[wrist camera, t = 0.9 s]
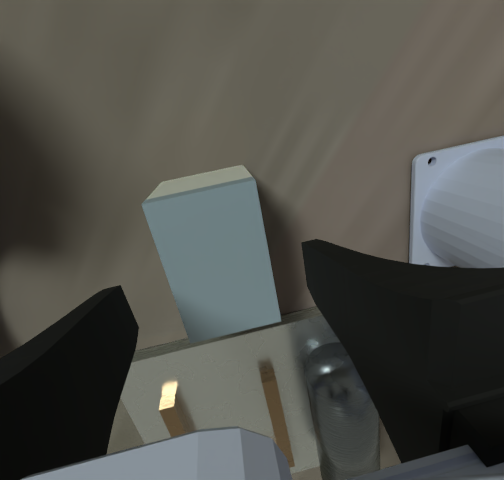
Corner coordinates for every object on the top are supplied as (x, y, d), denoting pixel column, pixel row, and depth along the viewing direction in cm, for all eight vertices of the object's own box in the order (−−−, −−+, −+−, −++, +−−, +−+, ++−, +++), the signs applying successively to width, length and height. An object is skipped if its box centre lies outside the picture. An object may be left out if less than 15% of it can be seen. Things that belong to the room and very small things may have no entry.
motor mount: (365, 294, 20) (416, 349, 15) (371, 438, 26) (409, 511, 21) (110, 357, 19) (75, 438, 14) (178, 491, 25) (171, 580, 20)
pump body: (242, 164, 16) (255, 179, 11) (263, 272, 18) (281, 321, 14) (161, 181, 16) (141, 204, 11) (195, 288, 18) (190, 343, 14)
